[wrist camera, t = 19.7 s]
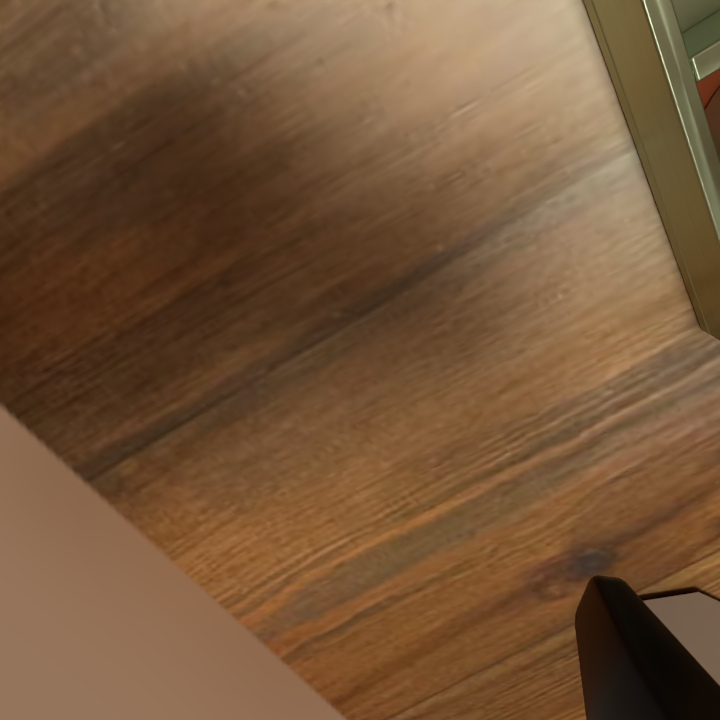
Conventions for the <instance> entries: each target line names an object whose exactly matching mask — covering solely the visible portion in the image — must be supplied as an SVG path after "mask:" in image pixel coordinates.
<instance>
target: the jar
mask: <svg viewBox="0 0 720 720" xmlns="http://www.w3.org/2000/svg"><path fill="white" fill-rule="evenodd" d="M705 113H706V116H707V120H708V123H709V126H710V130H711V133H712V136H713V140H714V143H715V146H716V150H717V153H718V156H719V160H720V87H719V89H718V90H717V91H716V93H715V94H714V96H713V97H712V98H711V100H710V102H709V104H708V105H707V107H706V109H705Z"/></svg>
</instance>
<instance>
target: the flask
mask: <svg viewBox="0 0 720 720" xmlns="http://www.w3.org/2000/svg"><path fill="white" fill-rule="evenodd" d="M643 602H644V603H645V604H646V605H647V606H648V607H649V608H650V609H651V611H652V612H653V613H654V614H655V615H656V616H657V617H658V618H659V619H660V620H661V622H662V623H663V624H664V625H665V626H666V627H667V628H668V629H669V630H670V631H671V633H672V634H673V635H674V636H675V637H676V638H677V639H678V640H679V641H680V642H681V644H682V645H683V646H684V647H685V648H686V649H687V650H688V651H689V652H690V653H691V655H692V656H693V657H694V658H695V659H696V660H697V661H698V662H699V663H700V664H701V666H702V667H703V668H704V669H705V670H706V671H707V672H708V673H709V674H710V675H711V677H712V678H713V679H714V680H715V681H716V682H717V683H718V684H719V685H720V602H719V601H717V600H715V599H713V598H711V597H708V596H706V595H704V594H702V593H700V592H696V593H689V594H683V595H677V596H670V597H664V598H658V599H651V600H645V601H643Z"/></svg>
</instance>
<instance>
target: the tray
mask: <svg viewBox="0 0 720 720" xmlns="http://www.w3.org/2000/svg"><path fill="white" fill-rule="evenodd" d="M584 3H585V6H586V8H587V11H588V14H589V17H590V20H591V22H592V25H593V28H594V31H595V34H596V36H597V39H598V42H599V45H600V47H601V50H602V53H603V56H604V59H605V61H606V64H607V67H608V70H609V73H610V75H611V78H612V81H613V84H614V87H615V89H616V92H617V95H618V98H619V100H620V103H621V106H622V109H623V112H624V114H625V117H626V120H627V123H628V126H629V128H630V131H631V134H632V137H633V140H634V142H635V145H636V148H637V151H638V153H639V156H640V159H641V162H642V165H643V167H644V170H645V173H646V176H647V179H648V181H649V184H650V187H651V190H652V193H653V195H654V198H655V201H656V204H657V206H658V209H659V212H660V215H661V218H662V220H663V223H664V226H665V229H666V232H667V234H668V237H669V240H670V243H671V246H672V248H673V251H674V254H675V257H676V259H677V262H678V265H679V268H680V271H681V273H682V276H683V279H684V282H685V285H686V287H687V290H688V293H689V296H690V299H691V301H692V304H693V307H694V310H695V312H696V315H697V318H698V321H699V324H700V326H701V329H702V330H703V331H705V332H707V333H708V334H711V335H712V336H713V337H715V338H717V339H718V340H720V160H719V156H718V153H717V150H716V146H715V143H714V140H713V136H712V133H711V130H710V126H709V123H708V120H707V116H706V113H705V109H706V107H707V105H708V104H709V102H710V100H711V98H712V97H713V96H714V94H715V93H716V91H717V90H718V89H719V87H720V0H584Z"/></svg>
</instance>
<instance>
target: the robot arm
mask: <svg viewBox="0 0 720 720" xmlns="http://www.w3.org/2000/svg"><path fill="white" fill-rule="evenodd" d="M575 630H576V638H577V646H578V654H579V662H580V670H581V679H582V687H583V695H584V703H585V711H586V719H587V720H720V685H719V684H718V683H717V682H716V681H715V680H714V679H713V678H712V677H711V675H710V674H709V673H708V672H707V671H706V670H705V669H704V668H703V667H702V666H701V664H700V663H699V662H698V661H697V660H696V659H695V658H694V657H693V656H692V655H691V653H690V652H689V651H688V650H687V649H686V648H685V647H684V646H683V645H682V644H681V642H680V641H679V640H678V639H677V638H676V637H675V636H674V635H673V634H672V633H671V631H670V630H669V629H668V628H667V627H666V626H665V625H664V624H663V623H662V622H661V620H660V619H659V618H658V617H657V616H656V615H655V614H654V613H653V612H652V611H651V609H650V608H649V607H648V606H647V605H646V604H645V603H644V602H643V601H642V599H641V598H640V597H639V596H638V595H637V594H636V593H635V592H634V591H633V590H632V588H631V587H630V586H629V585H628V584H627V583H626V582H625V581H623V580H622V579H620V578H616V577H608V576H599V575H596V576H593V577H592V578H591V579H590V581H589V583H588V585H587V587H586V589H585V592H584V594H583V596H582V599H581V601H580V603H579V605H578V608H577V611H576V615H575Z"/></svg>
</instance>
